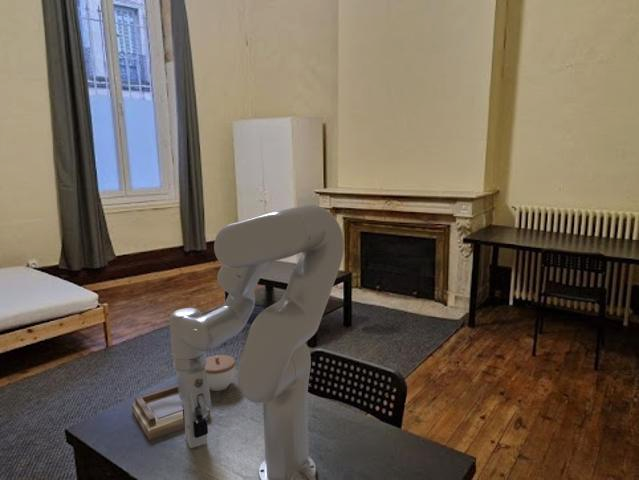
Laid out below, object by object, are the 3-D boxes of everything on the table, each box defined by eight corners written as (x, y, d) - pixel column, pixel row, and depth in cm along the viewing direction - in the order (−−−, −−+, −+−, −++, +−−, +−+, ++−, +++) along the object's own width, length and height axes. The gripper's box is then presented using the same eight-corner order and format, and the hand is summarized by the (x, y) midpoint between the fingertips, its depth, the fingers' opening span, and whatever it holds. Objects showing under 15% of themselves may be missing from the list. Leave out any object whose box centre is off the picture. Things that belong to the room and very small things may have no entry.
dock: (210, 418, 123) (209, 404, 122) (149, 440, 113) (148, 425, 113) (188, 393, 135) (188, 381, 135) (132, 411, 126) (131, 398, 125)
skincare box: (184, 436, 114) (180, 391, 112) (202, 430, 116) (198, 386, 114) (190, 449, 109) (186, 403, 107) (209, 443, 111) (205, 397, 109)
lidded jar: (218, 398, 132) (216, 368, 131) (193, 388, 138) (191, 359, 136) (243, 382, 141) (242, 354, 140) (218, 374, 147) (217, 347, 145)
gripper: (219, 368, 104) (224, 439, 107) (191, 345, 118) (197, 408, 121) (187, 378, 100) (193, 452, 103) (162, 352, 114) (169, 418, 117)
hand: (195, 428), depth 112 cm, fingers closed on skincare box, 6 cm apart
